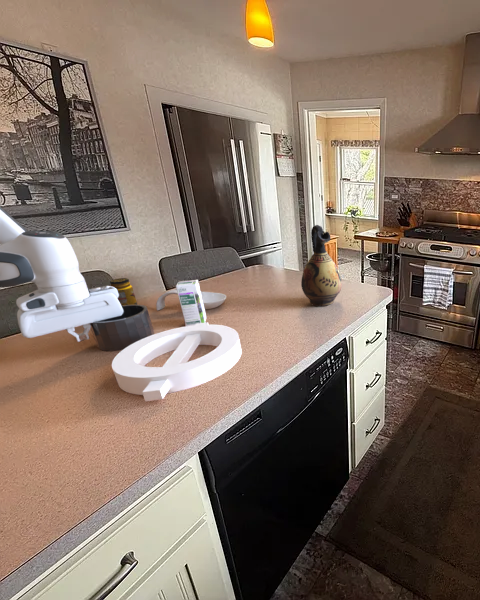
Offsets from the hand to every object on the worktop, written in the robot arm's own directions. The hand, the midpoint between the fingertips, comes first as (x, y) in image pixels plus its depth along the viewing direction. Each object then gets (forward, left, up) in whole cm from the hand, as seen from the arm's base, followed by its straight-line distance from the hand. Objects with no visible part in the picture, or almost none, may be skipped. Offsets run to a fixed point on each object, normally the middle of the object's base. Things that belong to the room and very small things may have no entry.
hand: (83, 339), depth 90 cm
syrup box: (+28, -2, -4) cm, 28 cm away
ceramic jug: (+68, -20, -4) cm, 71 cm away
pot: (+9, +1, -4) cm, 10 cm away
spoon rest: (+33, +13, -4) cm, 36 cm away
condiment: (+16, +28, -4) cm, 33 cm away
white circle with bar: (+15, -27, -4) cm, 31 cm away
